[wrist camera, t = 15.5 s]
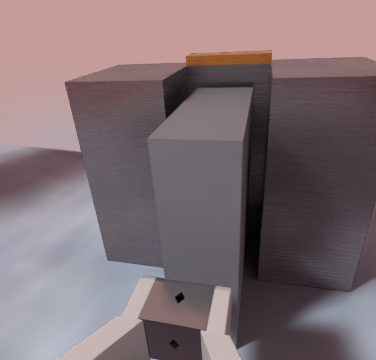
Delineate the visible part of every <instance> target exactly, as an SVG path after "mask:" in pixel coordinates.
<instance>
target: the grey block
mask: <svg viewBox="0 0 376 360" xmlns="http://www.w3.org/2000/svg"><path fill="white" fill-rule="evenodd" d="M252 105H253V87H235V88H197V89H196V90H195V91H194V92H193V93H192V94H191V95H190V96H189V97H188V98H187V99H186V100H185V101H184V102H183V103H182V104H181V105H180V106H179V107H178V108H177V109H176V110H175V111H174V112H173V113H172V114H171V115H170V116H169V117H168V118H167V119H166V120H165V121H164V122H163V123H162V124H161V125H160V126H159V127H158V128H157V129H156V130H155V131H154V132H153V133H152V134H151V135H150V136H149V137H148V138H147V140H148V148H149V156H150V164H151V172H152V180H153V188H154V196H155V204H156V211H157V219H158V227H159V235H160V243H161V251H162V259H163V267H164V275H165V279H170V280H176V281H182V282H192V283H200V284H207V285H215V286H221V287H228V288H232V308H231V327H230V336H231V338H232V340H233V342H234V344H235V346H236V347H237V336H238V326H239V315H240V304H241V293H242V282H243V271H244V260H245V249H246V238H247V217H248V194H249V172H250V150H251V127H252Z"/></svg>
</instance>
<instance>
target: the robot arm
mask: <svg viewBox="0 0 376 360" xmlns="http://www.w3.org/2000/svg"><path fill="white" fill-rule="evenodd" d="M231 308H232V288H228V287H221V286H215V285H207V284H200V283H192V282H182V281H176V280H170V279H164V278H159V277H151V276H145V275H143V276H142V277H141V278H140V280H139V282H138V284H137V286H136V288H135V290H134V292H133V294H132V296H131V298H130V300H129V302H128V304H127V306H126V308H125V310H124V312H123V314H122V316H119V315H117V316H116V317H114V318H113V319H112V320H110V321H109V322H108V323H106V324H105V325H103V326H102V327H101V328H99V329H98V330H96V331H95V332H94V333H92V334H91V335H89V336H88V337H87V338H85V339H84V340H82V341H81V342H80V343H78V344H77V345H75V346H74V347H73V348H71V349H70V350H69V351H67V352H66V353H64V354H63V355H62V356H60V357H59V358H57V359H56V360H150V358H152V359H157V360H242V359H241V357H240V355H239V353H238V351H237V349H236V346H235V344H234V342H233V340H232V338H231V336H230V327H231Z"/></svg>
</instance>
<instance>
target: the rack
mask: <svg viewBox="0 0 376 360" xmlns="http://www.w3.org/2000/svg"><path fill="white" fill-rule="evenodd" d="M65 86H66V90H67V94H68V98H69V102H70V107H71V111H72V115H73V119H74V122H75V127H76V131H77V136H78V140H79V144H80V148H81V152H82V156H83V161H84V165H85V169H86V173H87V177H88V181H89V186H90V190H91V194H92V198H93V202H94V206H95V210H96V215H97V219H98V223H99V227H100V231H101V235H102V240H103V244H104V248H105V252H106V256H107V260H111V261H119V262H127V263H134V264H142V265H150V266H157V267H163V259H162V251H161V243H160V235H159V227H158V219H157V211H156V204H155V196H154V188H153V180H152V172H151V164H150V156H149V148H148V140H147V138H148V137H149V136H150V135H151V134H152V133H153V132H154V131H155V130H156V129H157V128H158V127H159V126H160V125H161V124H162V123H163V122H164V121H165V120H166V119H167V118H168V117H169V116H170V115H171V114H172V113H173V112H174V111H175V110H176V109H177V108H178V107H179V106H180V105H181V104H182V103H183V102H184V101H185V100H186V99H187V98H188V97H189V96H190V95H191V94H192V93H193V92H194V91H195V90H196V89H197V88H235V87H253V105H252V127H251V150H250V172H249V194H248V217H247V230H252V231H260V233H259V261H258V280H264V281H272V282H280V283H287V284H295V285H303V286H310V287H318V288H325V289H333V290H341V291H348V292H350V291H351V287H352V284H353V280H354V277H355V273H356V270H357V266H358V262H359V259H360V255H361V252H362V248H363V245H364V241H365V238H366V234H367V230H368V227H369V223H370V220H371V216H372V213H373V209H374V205H375V202H376V61H373V60H371V59H368V58H366V57H345V58H314V59H286V60H285V59H283V60H272V50H270V51H269V50H268V51H243V52H219V53H192V54H190V55H188V56H186V63H162V64H161V63H160V64H132V65H131V64H130V65H117V66H114V67H111V68H108V69H105V70H101V71H98V72H95V73H92V74H89V75H85V76H82V77H79V78H76V79H73V80H69V81H66V82H65Z"/></svg>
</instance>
